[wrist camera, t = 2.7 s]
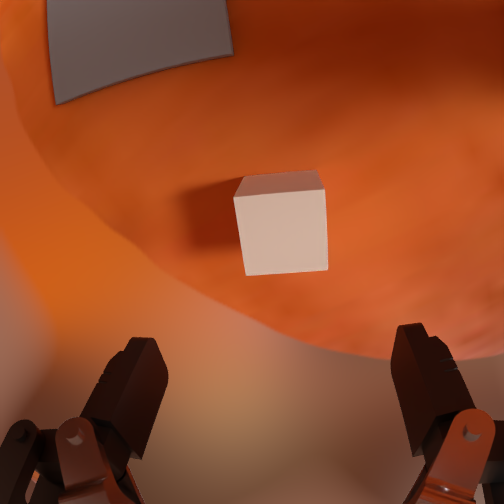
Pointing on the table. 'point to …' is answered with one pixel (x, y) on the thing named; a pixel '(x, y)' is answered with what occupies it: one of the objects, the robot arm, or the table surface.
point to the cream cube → (282, 222)
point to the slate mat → (130, 40)
